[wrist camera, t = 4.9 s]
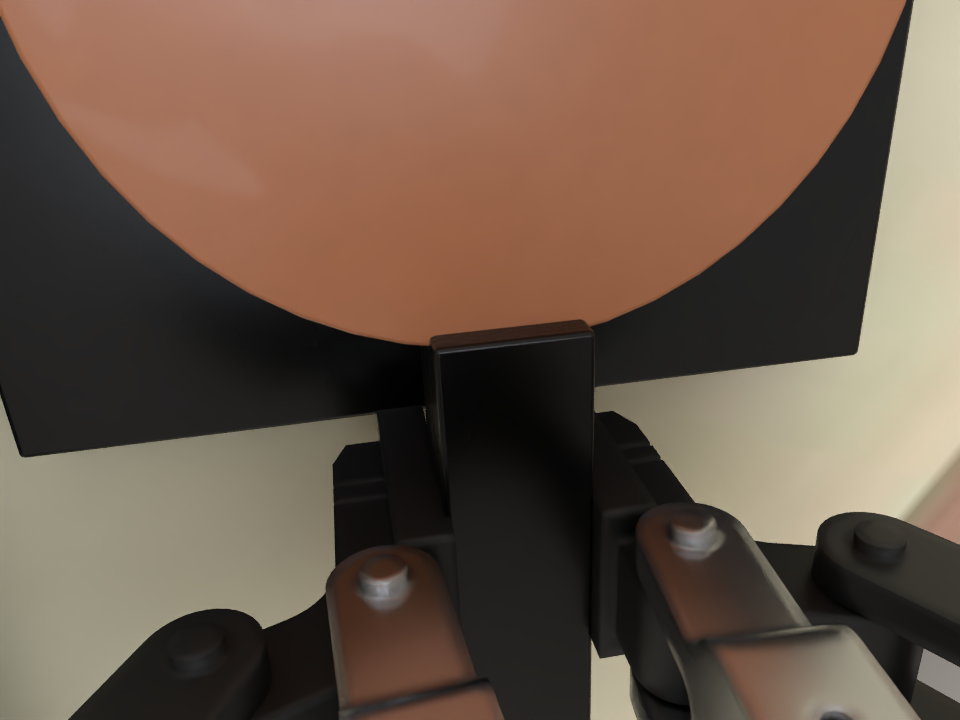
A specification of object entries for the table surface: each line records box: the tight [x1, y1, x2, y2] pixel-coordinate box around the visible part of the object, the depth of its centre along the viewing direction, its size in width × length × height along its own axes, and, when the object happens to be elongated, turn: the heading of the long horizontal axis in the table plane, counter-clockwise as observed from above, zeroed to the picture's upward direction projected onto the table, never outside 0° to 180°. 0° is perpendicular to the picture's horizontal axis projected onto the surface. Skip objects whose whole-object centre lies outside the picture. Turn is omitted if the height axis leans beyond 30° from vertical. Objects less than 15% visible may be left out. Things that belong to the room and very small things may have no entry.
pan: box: [0, 0, 906, 720], centre depth 10 cm, size 16×9×4 cm, turn 3°
